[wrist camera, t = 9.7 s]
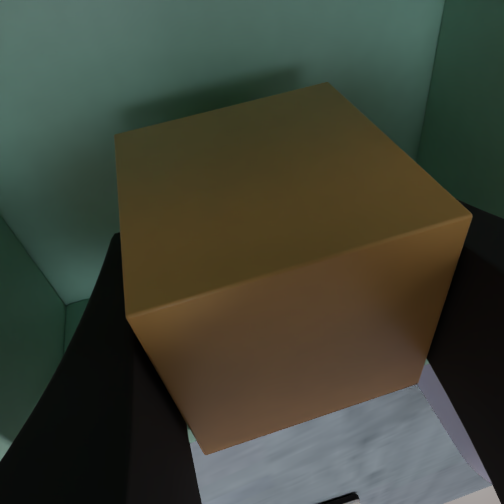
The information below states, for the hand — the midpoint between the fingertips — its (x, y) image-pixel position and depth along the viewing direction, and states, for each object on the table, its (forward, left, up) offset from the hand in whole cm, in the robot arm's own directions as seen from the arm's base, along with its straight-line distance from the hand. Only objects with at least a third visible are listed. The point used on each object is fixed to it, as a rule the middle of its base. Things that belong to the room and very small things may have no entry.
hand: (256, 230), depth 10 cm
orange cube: (0, 0, -1) cm, 1 cm away
